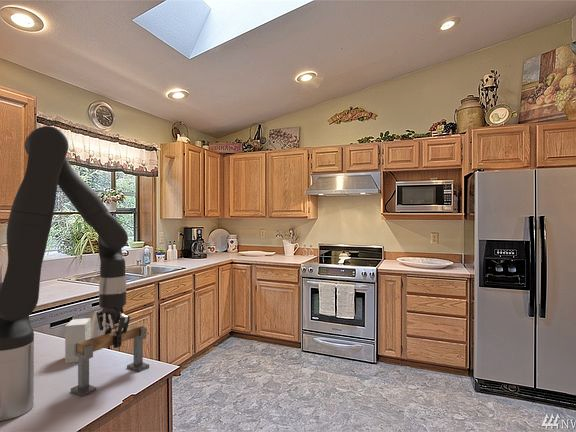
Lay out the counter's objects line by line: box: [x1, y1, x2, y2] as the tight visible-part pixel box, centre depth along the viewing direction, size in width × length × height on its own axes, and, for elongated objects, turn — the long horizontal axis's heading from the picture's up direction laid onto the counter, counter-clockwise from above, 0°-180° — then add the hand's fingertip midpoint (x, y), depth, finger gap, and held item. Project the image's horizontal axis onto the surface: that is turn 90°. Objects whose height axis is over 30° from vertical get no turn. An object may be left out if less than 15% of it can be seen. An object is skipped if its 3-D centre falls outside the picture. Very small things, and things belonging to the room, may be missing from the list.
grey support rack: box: [70, 326, 150, 398], centre depth 107 cm, size 22×6×14 cm, turn 151°
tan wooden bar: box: [77, 323, 145, 355], centre depth 107 cm, size 20×3×3 cm, turn 151°
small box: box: [64, 317, 92, 364], centre depth 123 cm, size 8×6×13 cm
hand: (112, 345), depth 107 cm, fingers open, 3 cm apart
